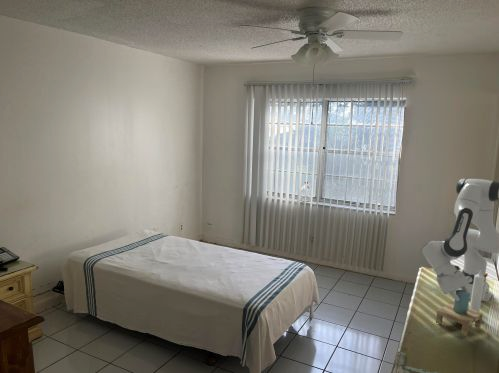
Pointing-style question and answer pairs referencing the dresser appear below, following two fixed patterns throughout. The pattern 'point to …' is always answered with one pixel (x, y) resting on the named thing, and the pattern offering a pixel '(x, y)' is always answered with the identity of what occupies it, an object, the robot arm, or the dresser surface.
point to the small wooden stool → (460, 317)
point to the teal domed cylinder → (462, 302)
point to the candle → (477, 292)
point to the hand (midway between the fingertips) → (463, 298)
